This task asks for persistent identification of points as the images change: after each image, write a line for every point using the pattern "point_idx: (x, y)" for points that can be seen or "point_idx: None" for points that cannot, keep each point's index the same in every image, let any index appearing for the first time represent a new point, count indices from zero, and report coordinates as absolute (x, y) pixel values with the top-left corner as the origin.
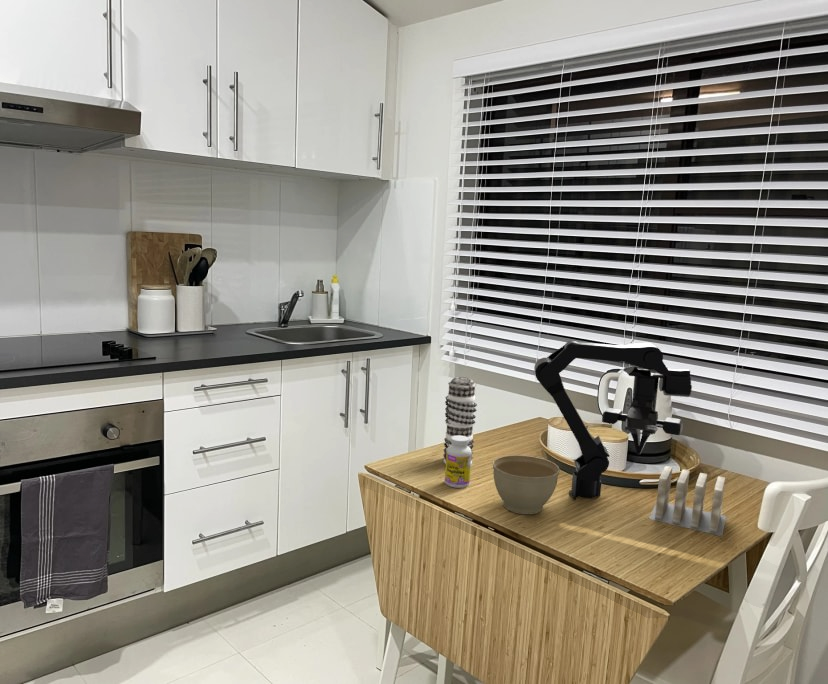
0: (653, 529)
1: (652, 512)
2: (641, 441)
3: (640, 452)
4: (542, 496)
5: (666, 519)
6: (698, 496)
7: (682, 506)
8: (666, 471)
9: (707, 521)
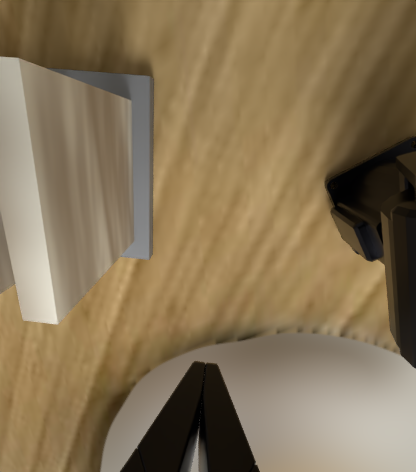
0: (127, 21)
1: (147, 148)
2: (167, 468)
3: (189, 369)
4: None
5: None
6: None
7: None
8: (24, 233)
9: None
